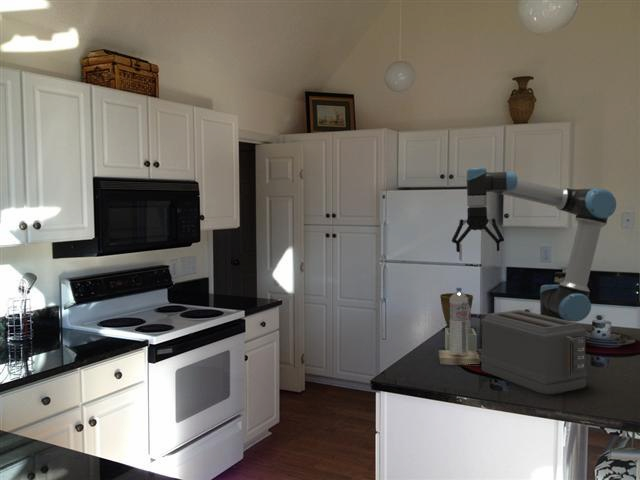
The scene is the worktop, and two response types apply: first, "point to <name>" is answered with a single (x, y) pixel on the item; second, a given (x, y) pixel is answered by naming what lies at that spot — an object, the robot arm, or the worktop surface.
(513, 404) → the worktop surface
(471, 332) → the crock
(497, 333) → the toaster
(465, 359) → the board
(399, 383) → the worktop surface
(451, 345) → the water bottle
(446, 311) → the plant pot
